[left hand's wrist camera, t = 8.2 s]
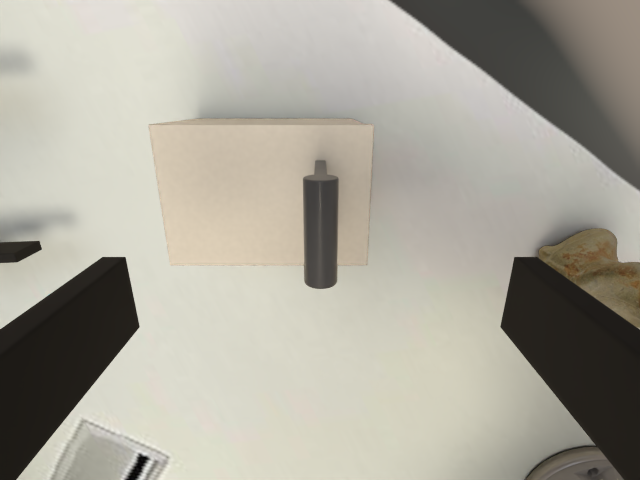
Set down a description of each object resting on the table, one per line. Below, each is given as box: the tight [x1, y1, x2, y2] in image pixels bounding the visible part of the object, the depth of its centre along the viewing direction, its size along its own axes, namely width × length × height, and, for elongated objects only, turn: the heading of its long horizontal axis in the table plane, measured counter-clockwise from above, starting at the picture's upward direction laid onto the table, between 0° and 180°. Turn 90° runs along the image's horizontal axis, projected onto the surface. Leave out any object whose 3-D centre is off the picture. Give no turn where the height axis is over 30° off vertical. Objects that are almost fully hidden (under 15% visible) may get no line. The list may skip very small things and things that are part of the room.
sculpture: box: [539, 228, 640, 328], centre depth 30 cm, size 6×7×15 cm
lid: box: [149, 124, 374, 289], centre depth 22 cm, size 14×10×8 cm
